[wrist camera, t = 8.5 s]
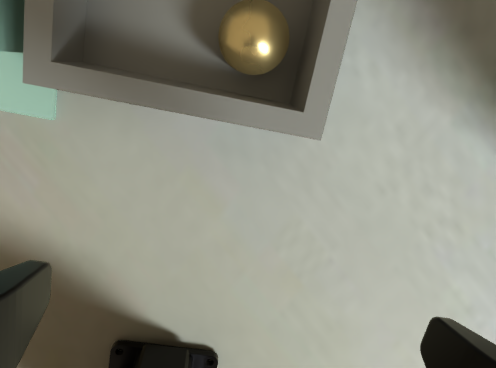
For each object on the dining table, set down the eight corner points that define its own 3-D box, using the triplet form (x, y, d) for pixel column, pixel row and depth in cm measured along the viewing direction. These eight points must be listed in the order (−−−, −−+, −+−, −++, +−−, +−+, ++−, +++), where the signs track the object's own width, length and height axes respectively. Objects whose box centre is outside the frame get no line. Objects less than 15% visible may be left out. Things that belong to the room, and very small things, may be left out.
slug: (274, 79, 18) (280, 81, 16) (213, 67, 18) (212, 67, 16) (288, 13, 17) (296, 7, 15) (224, -1, 17) (225, -10, 15)
